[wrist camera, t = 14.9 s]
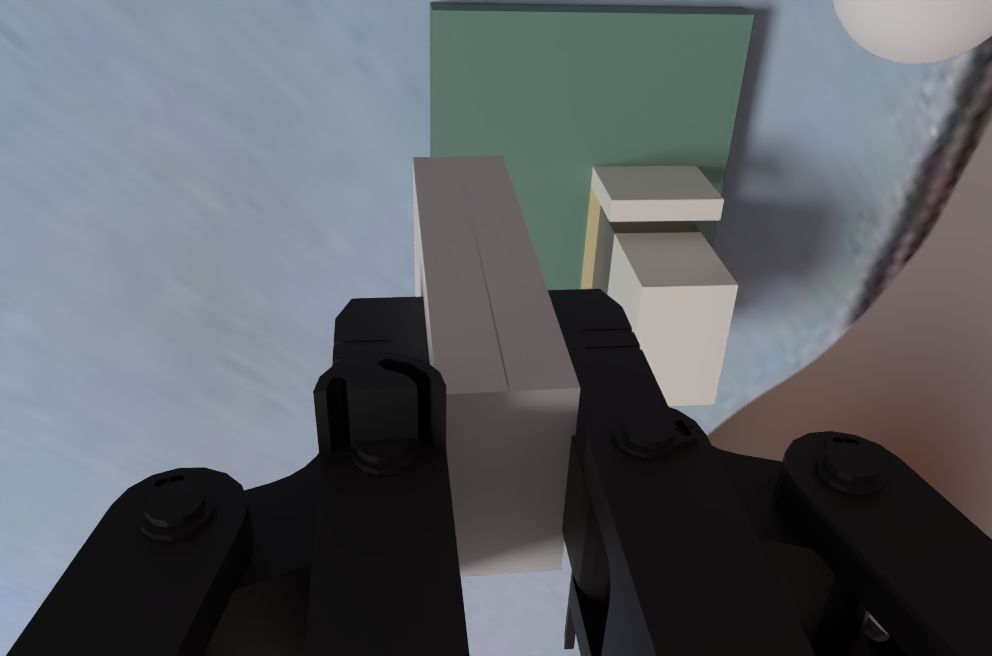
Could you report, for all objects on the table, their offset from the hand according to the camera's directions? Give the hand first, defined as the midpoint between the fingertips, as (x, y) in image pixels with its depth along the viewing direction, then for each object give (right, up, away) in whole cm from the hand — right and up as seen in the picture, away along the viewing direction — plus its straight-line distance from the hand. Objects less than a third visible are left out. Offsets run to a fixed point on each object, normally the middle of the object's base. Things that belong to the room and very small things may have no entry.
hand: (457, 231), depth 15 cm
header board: (+4, +5, +28) cm, 29 cm away
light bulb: (+15, +15, +23) cm, 32 cm away
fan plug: (+8, +2, +29) cm, 30 cm away
